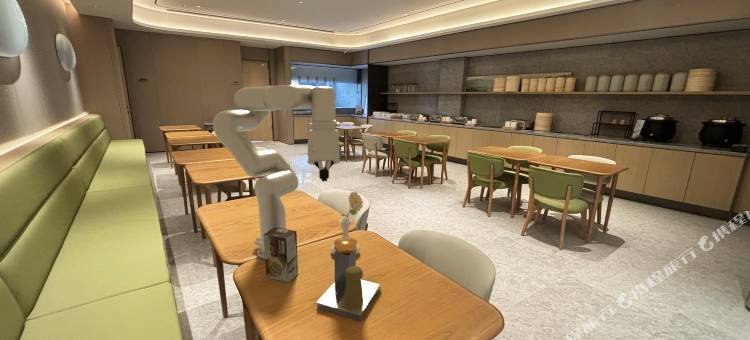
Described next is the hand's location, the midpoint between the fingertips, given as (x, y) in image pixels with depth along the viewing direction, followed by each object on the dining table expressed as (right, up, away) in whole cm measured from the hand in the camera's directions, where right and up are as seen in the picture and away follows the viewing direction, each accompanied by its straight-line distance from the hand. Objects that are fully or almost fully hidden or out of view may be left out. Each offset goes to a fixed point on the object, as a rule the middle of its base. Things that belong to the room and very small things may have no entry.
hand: (324, 180), depth 107 cm
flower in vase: (+6, -30, +20) cm, 36 cm away
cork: (+11, -36, -14) cm, 40 cm away
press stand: (+9, -36, -9) cm, 39 cm away
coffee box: (-15, -33, +3) cm, 36 cm away
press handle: (+8, -32, -5) cm, 33 cm away
